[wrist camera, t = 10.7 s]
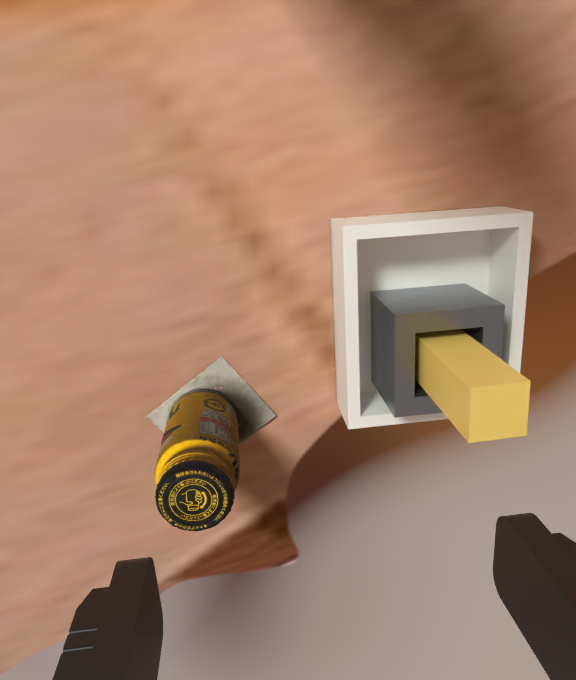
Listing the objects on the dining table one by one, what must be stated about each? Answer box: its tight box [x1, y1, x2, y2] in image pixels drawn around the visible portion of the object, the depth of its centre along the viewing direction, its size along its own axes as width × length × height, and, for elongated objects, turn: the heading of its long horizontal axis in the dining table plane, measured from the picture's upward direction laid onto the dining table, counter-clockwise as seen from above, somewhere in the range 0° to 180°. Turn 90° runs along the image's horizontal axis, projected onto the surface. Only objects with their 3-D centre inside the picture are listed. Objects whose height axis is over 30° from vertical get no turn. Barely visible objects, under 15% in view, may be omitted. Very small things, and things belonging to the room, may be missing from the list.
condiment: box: [147, 356, 276, 531], centre depth 42 cm, size 7×8×12 cm
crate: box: [330, 206, 533, 429], centre depth 44 cm, size 16×14×5 cm
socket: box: [370, 283, 505, 418], centre depth 43 cm, size 8×8×7 cm
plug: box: [415, 329, 531, 443], centre depth 38 cm, size 4×4×12 cm
